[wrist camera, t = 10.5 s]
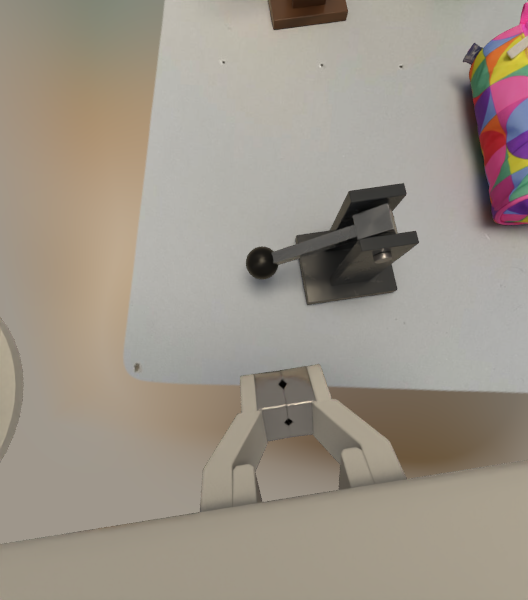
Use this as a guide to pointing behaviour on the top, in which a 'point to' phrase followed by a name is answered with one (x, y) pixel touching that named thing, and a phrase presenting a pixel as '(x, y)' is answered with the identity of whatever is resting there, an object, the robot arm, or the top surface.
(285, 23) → the far bracket
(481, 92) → the pencil case
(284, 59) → the top surface
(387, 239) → the near bracket
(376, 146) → the top surface
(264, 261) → the lever
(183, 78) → the top surface
